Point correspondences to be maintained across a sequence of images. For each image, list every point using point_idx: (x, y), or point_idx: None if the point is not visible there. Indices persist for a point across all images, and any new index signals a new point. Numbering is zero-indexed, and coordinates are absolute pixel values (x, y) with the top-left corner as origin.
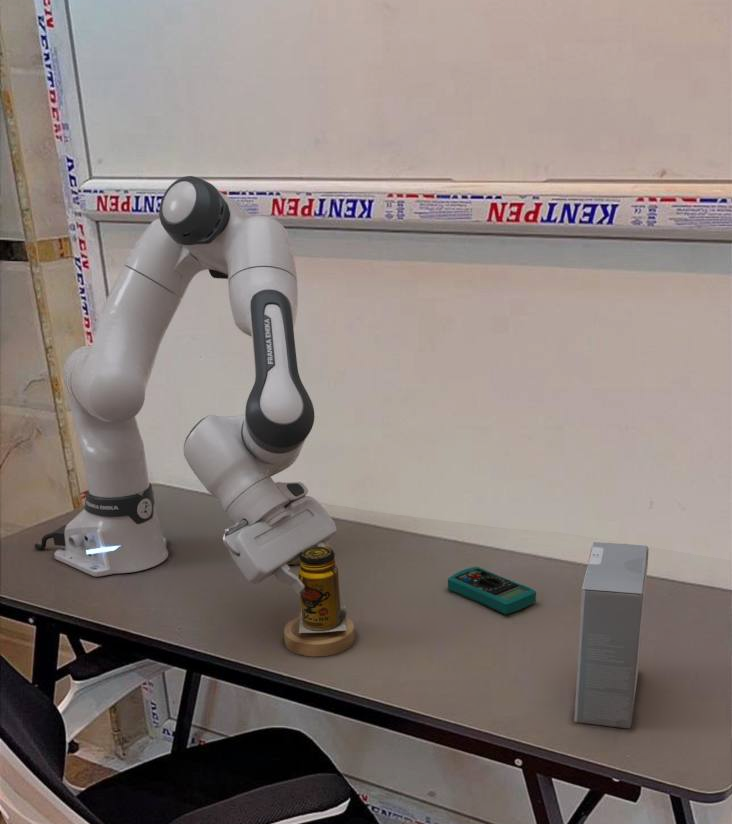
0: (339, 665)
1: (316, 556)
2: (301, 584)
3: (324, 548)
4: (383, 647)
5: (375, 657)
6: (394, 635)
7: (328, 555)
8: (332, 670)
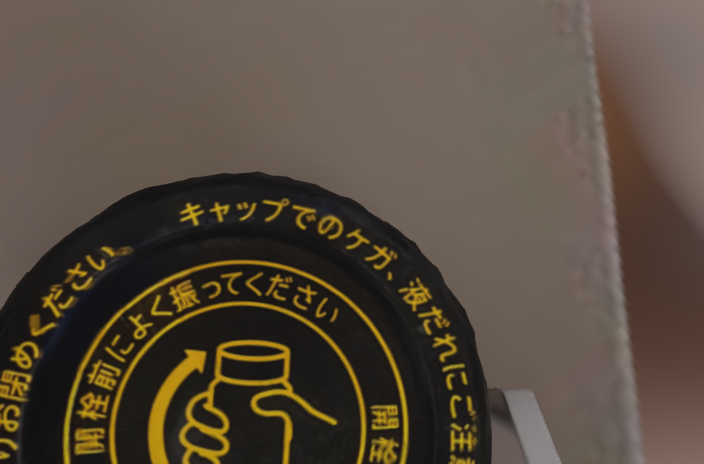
0: (440, 175)
1: (355, 345)
2: (528, 411)
3: (35, 414)
4: (207, 93)
5: (304, 79)
6: (79, 106)
7: (261, 191)
8: (491, 178)
